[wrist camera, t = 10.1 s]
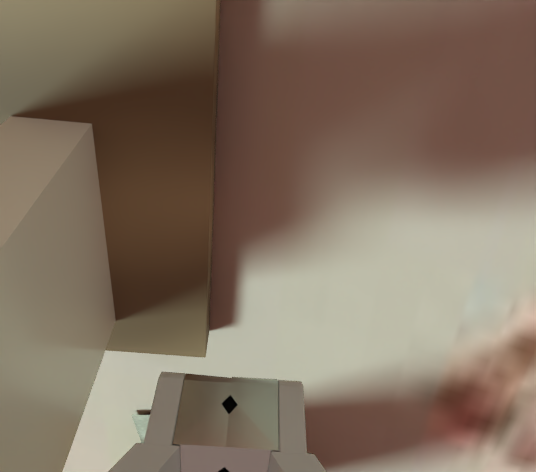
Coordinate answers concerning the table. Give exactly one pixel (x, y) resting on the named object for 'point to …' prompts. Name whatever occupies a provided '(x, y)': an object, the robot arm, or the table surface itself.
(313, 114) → the table surface
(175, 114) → the walnut board
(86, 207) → the cream tile
